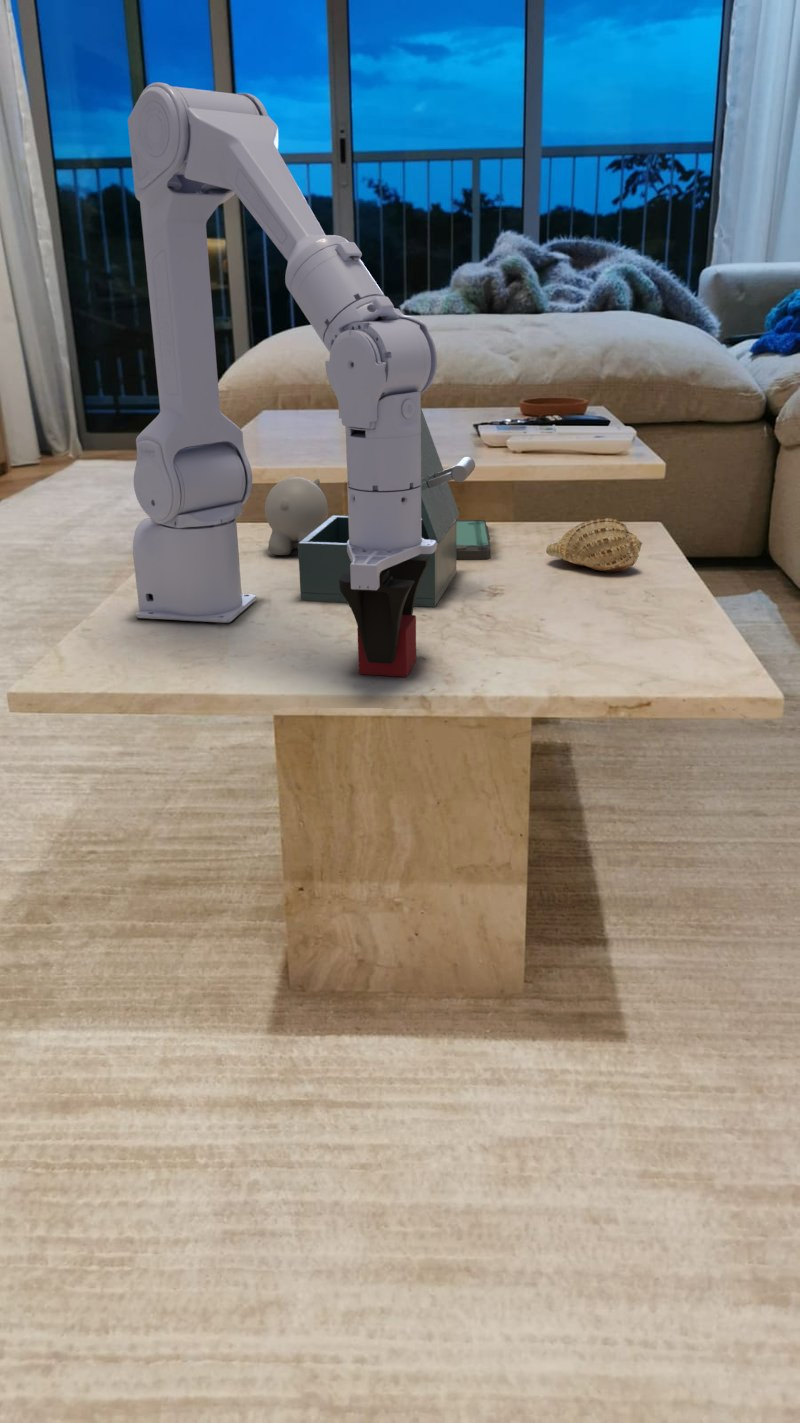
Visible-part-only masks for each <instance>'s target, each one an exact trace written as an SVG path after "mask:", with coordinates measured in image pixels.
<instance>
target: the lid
mask: <svg viewBox="0 0 800 1423" xmlns="http://www.w3.org/2000/svg"><path fill="white" fill-rule="evenodd" d="M475 468H476V462H475V459H473V458H472V457H470V456H464V457H463V458H461V460H459V461H458V462H457V463H456V464H455V465H453V466H451V467H448V468H445V469H444V467H443V465H442V461H441V458H440V456H439V453H438V451H437V448H436V446H435V443H434V440H433V437H432V434H431V430H430V428H429V426H428V423H427V420H426V416H425V415H424V411H423V410H422V408H421V518H422V520H423V523H424V526H425V528H426V531H427V534H428V536H429V539H430V540H435V541H436V542H437V543H439V541H440V540H441V539H442V537H443V536H444V535H445V533H446V532H447V531H448V529H449V528H450V527H451V525H452V524H453V523H454V521H455V520H458V518H459V516H460V511H459V508H458V506H457V503H456V500H455V497H454V495H453V492H452V489H451V487H450V484H449V482H452V481H455V482H457V483H463V482H464V481H466V480H467V479H468V477H469V476H470V475H471V474H472V473H473V472H474V471H475Z"/></svg>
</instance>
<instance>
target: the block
mask: <svg viewBox="0 0 800 1423" xmlns="http://www.w3.org/2000/svg"><path fill="white" fill-rule="evenodd" d="M356 630H357V655H358V656H357V658H358V659H357V662H358V674H359V675H368V676H369V675H370V676H385V677H401V678H406V677H408V675H409V673H410V672H411V670H412V668H413V667H414V665H415V663H416V661H417V616H416V615H413V614H412V615H402V617H401V622H400V629H399V638H398V646H397V651H396V655H395V659H394V661H393V663H391V664H389V663H372V662H368V661H367V658H366V655H365V652H364V648H363V645H362V641H361V637H360V633H359V629H358V627H357V629H356Z"/></svg>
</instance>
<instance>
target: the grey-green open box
mask: <svg viewBox="0 0 800 1423" xmlns="http://www.w3.org/2000/svg"><path fill="white" fill-rule="evenodd" d="M457 520H458V519H456V520H455V521H454V523H453V524H452V525H451V527H450V528H449V529H448V531H447V532H446V533H445V535H444V536H443V537H442V539H441V540H440V541H439V543H437V549H436V550H435V552H434V553H432V554H428V555H429V556H430V561H429V563H428V565H427V567H426V569H425V571H424V574H423V576H422V579H421V581H420V584H419V587H418V591H417V594H416V598H415V603H414V607H427V608H428V607H430V608H435V607H436V606H437V605H438V603H439V601H440V600H441V598H442V596H443V595H444V593H445V592H446V590H447V589H448V587H449V585H450V584H451V582H452V580H453V579H454V577H455V576H456V574H457V559H456V539H457ZM421 537H422V538H423V539H426V540H430V539H429V536H428V534H427V531H426V528H425V526H424V523H423V520H422V518H421ZM348 540H349V519H348V515H331V516H330V517H329V518H327V519H326V521H325V522H324V523H323V524H321V525H320V526H319V527H318V528H316V529H315V530H314V531H313V532H311V533H310V534H309V535H308V536H307V537H305V538H304V539H303V540H302V541H300V542H299V543H298V549H297V552H298V553H297V554H298V570H299V571H298V572H299V589H300V590H299V592H300V601H308V602H326V603H346V604H348V602H347V600H346V599H345V597H344V596H343V594H342V593H341V591H340V587H339V579H340V578H341V577H342V576H343V575H344V574H345V573H350V564H351V560H350V558H349V555H348V552H347V541H348Z"/></svg>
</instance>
